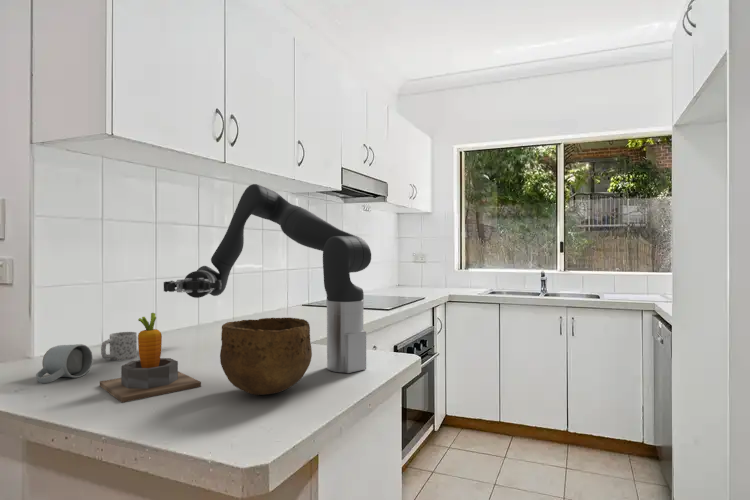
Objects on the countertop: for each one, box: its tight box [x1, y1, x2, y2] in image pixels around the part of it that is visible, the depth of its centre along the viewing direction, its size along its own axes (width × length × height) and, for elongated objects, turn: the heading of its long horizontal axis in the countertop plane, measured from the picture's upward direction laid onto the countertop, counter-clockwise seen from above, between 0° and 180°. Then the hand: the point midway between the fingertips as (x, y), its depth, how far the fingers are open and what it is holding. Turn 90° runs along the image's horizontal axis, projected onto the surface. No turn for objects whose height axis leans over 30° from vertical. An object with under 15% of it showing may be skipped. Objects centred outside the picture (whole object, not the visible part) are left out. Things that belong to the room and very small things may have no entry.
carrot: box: [137, 312, 163, 368], centre depth 107 cm, size 5×5×15 cm
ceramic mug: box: [35, 343, 94, 384], centre depth 114 cm, size 11×8×8 cm
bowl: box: [219, 317, 313, 396], centre depth 102 cm, size 19×19×15 cm
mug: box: [100, 331, 138, 361], centre depth 134 cm, size 10×7×7 cm, turn 157°
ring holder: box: [99, 357, 202, 403], centre depth 107 cm, size 16×16×5 cm
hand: (187, 287), depth 124 cm, fingers open, 8 cm apart
